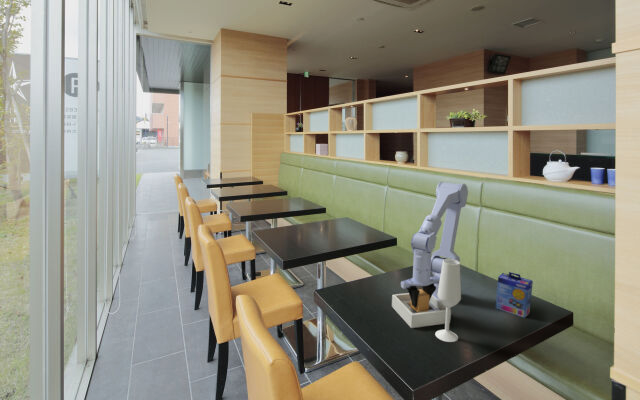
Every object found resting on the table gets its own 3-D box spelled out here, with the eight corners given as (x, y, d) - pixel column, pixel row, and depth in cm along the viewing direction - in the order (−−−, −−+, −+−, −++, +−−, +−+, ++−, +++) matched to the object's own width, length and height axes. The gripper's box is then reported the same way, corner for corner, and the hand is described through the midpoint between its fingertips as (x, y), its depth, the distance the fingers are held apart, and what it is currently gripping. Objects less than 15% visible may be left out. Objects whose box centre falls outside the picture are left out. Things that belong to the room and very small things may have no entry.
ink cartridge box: (494, 308, 124) (497, 270, 121) (499, 303, 128) (503, 266, 125) (525, 318, 117) (529, 278, 115) (529, 312, 121) (534, 273, 118)
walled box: (426, 302, 129) (427, 291, 128) (450, 322, 114) (450, 310, 114) (391, 306, 126) (392, 294, 125) (411, 328, 112) (411, 315, 111)
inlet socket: (425, 306, 126) (425, 298, 126) (440, 319, 116) (441, 311, 116) (399, 309, 124) (400, 301, 123) (413, 323, 114) (413, 314, 114)
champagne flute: (450, 328, 111) (455, 257, 107) (462, 340, 104) (468, 265, 100) (431, 330, 110) (435, 258, 106) (441, 343, 103) (446, 266, 99)
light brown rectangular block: (420, 304, 123) (421, 289, 122) (428, 311, 118) (429, 295, 117) (410, 306, 122) (411, 290, 121) (418, 313, 117) (419, 296, 116)
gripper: (433, 261, 123) (431, 297, 125) (396, 265, 119) (395, 302, 121) (445, 268, 116) (443, 306, 119) (407, 273, 112) (405, 312, 115)
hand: (420, 305), depth 120 cm, fingers closed on light brown rectangular block, 4 cm apart
